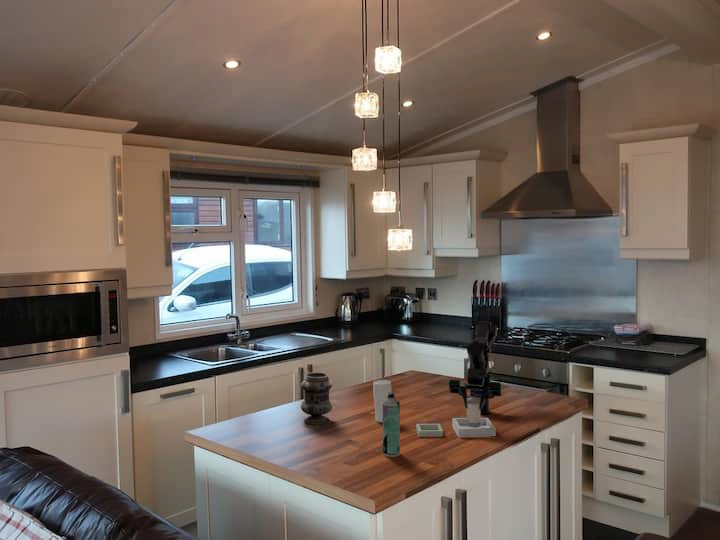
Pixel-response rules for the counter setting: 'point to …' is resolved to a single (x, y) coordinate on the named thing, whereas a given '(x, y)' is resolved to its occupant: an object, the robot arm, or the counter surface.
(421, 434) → the holder ring
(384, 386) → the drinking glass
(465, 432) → the parts tray
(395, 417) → the spray can
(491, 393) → the robot arm
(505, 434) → the counter surface
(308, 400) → the apothecary jar
